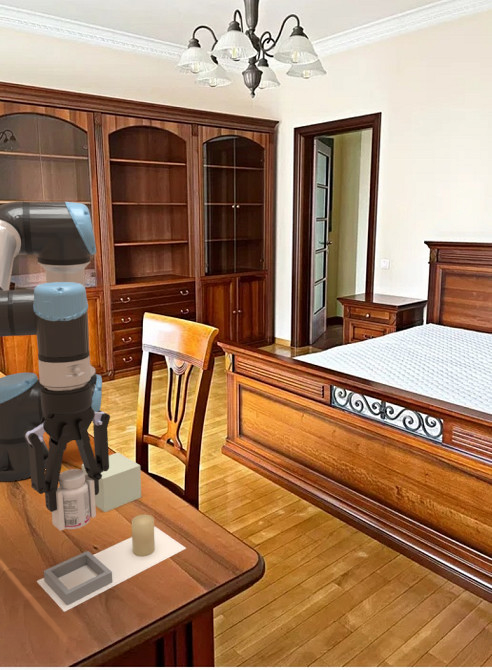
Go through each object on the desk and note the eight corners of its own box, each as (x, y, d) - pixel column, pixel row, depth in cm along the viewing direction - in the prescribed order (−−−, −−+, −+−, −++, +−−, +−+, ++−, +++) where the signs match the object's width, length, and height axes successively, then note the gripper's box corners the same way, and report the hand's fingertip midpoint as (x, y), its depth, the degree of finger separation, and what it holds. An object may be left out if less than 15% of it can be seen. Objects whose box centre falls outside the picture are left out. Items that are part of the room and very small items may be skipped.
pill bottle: (79, 511, 92) (76, 465, 90) (96, 520, 89) (93, 473, 87) (53, 523, 88) (50, 475, 86) (70, 533, 85) (67, 484, 84)
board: (37, 588, 91) (33, 549, 90) (155, 533, 108) (154, 498, 106) (64, 620, 84) (61, 577, 83) (186, 555, 101) (185, 518, 99)
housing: (83, 502, 119) (81, 464, 117) (119, 488, 125) (118, 452, 123) (104, 518, 113) (102, 478, 111) (141, 503, 119) (140, 465, 117)
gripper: (18, 402, 75) (30, 552, 80) (129, 377, 87) (134, 509, 92) (-3, 390, 80) (10, 531, 85) (104, 368, 92) (110, 493, 97)
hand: (74, 519), depth 89 cm, fingers closed on pill bottle, 5 cm apart
